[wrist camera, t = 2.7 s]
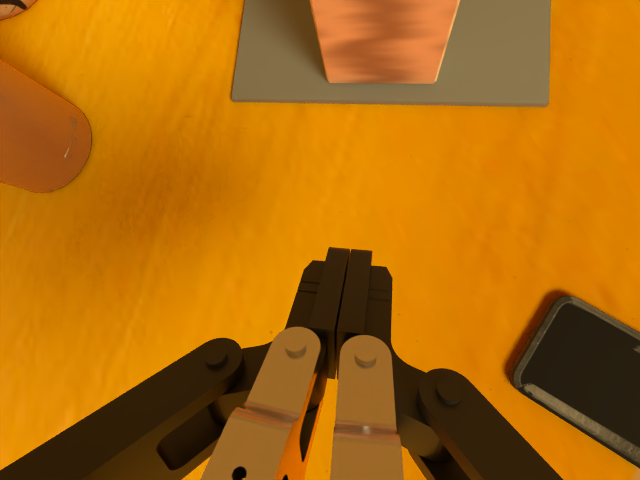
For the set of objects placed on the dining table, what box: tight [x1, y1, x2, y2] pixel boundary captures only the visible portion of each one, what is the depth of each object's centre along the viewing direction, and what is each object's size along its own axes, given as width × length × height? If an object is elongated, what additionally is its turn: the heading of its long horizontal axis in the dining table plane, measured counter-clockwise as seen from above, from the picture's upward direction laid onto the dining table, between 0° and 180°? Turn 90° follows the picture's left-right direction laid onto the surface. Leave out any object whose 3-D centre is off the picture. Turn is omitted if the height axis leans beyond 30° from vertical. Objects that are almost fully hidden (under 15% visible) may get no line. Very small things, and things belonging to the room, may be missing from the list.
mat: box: [231, 0, 551, 107], centre depth 31 cm, size 26×16×1 cm, turn 84°
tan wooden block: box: [310, 0, 460, 84], centre depth 24 cm, size 9×3×11 cm, turn 84°
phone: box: [510, 296, 640, 468], centre depth 24 cm, size 8×1×15 cm
